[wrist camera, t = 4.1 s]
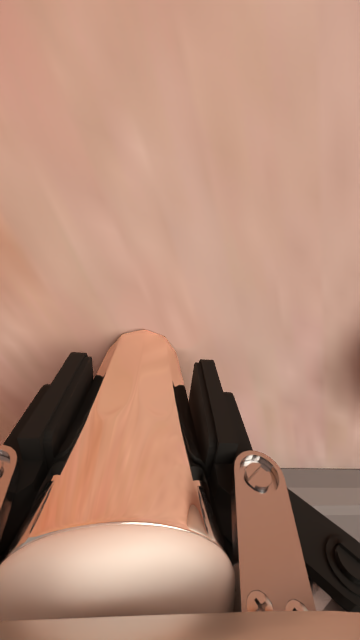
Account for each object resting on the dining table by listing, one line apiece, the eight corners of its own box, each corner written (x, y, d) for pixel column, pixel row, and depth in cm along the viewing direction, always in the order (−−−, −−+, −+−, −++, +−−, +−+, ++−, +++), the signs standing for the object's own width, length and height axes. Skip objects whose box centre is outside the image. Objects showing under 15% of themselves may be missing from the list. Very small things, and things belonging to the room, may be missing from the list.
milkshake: (181, 408, 13) (226, 826, 4) (82, 380, 12) (-136, 891, 3) (220, 341, 12) (420, 790, 3) (111, 300, 10) (-179, 896, 1)
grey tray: (427, 470, 17) (462, 505, 15) (349, 566, 23) (366, 600, 21) (171, 467, 16) (172, 505, 14) (157, 571, 21) (156, 608, 19)
